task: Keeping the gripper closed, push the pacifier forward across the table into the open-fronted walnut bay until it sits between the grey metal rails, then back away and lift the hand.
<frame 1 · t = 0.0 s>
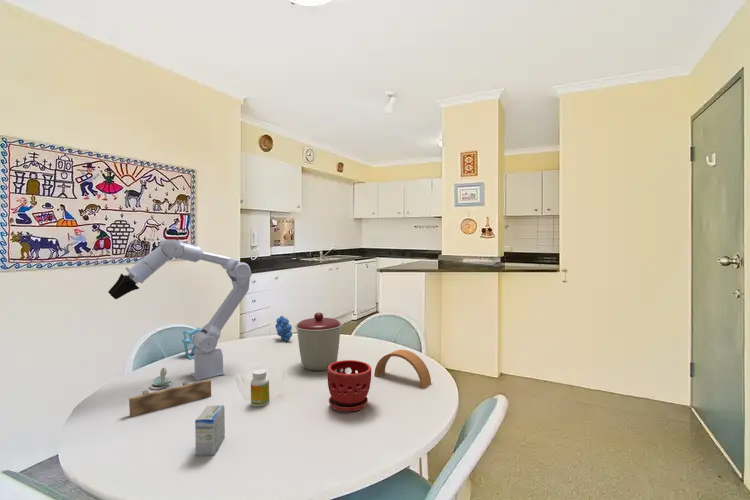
hand: (111, 295, 124), 32 cm above the table, tool tilted 50°, fingers open, 7 cm apart
arch: (401, 380, 136), on the table
walnut bay: (168, 399, 121), on the table
plant pot: (349, 406, 116), on the table
pacifier: (159, 387, 132), on the table
grapes: (282, 341, 187), on the table
canister: (319, 366, 151), on the table
medicine box: (211, 447, 94), on the table
chair: (193, 356, 166), on the table
supplement bottle: (260, 403, 118), on the table
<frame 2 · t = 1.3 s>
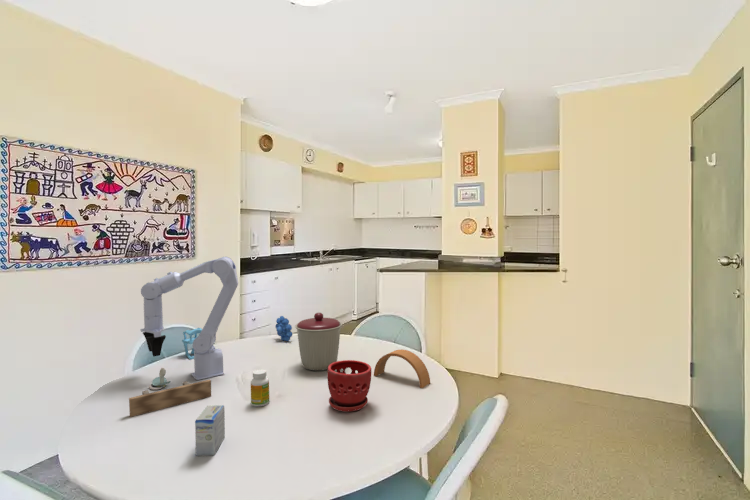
hand: (154, 353, 138), 9 cm above the table, tool pointing down, fingers open, 7 cm apart
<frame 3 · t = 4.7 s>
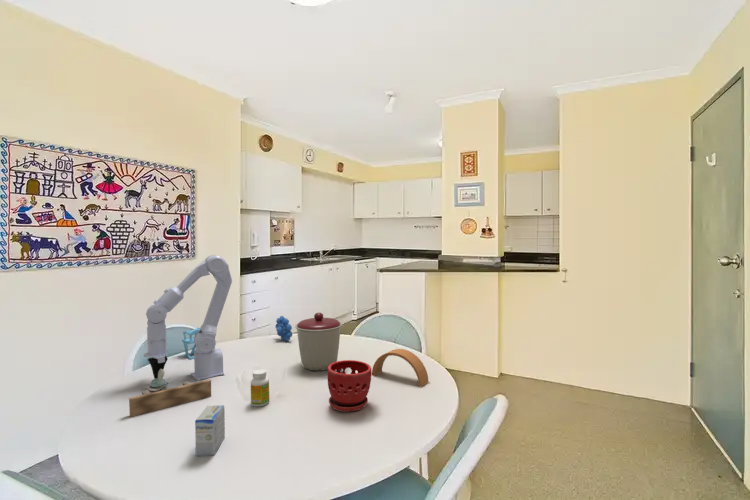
hand: (158, 378, 135), 2 cm above the table, tool pointing down, fingers closed
pacifier: (157, 388, 130), on the table, touching gripper
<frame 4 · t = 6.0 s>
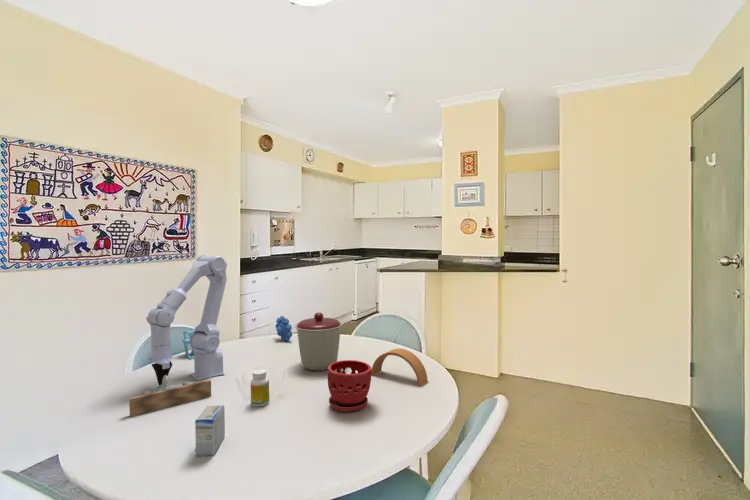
hand: (162, 384, 129), 2 cm above the table, tool pointing down, fingers closed
pacifier: (161, 396, 125), on the table, touching gripper
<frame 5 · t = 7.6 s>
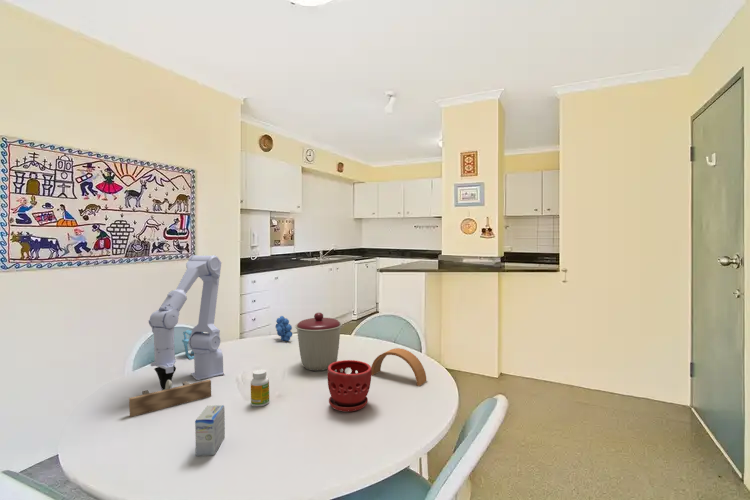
hand: (165, 389, 125), 2 cm above the table, tool pointing down, fingers closed
pacifier: (164, 401, 121), on the table, touching gripper
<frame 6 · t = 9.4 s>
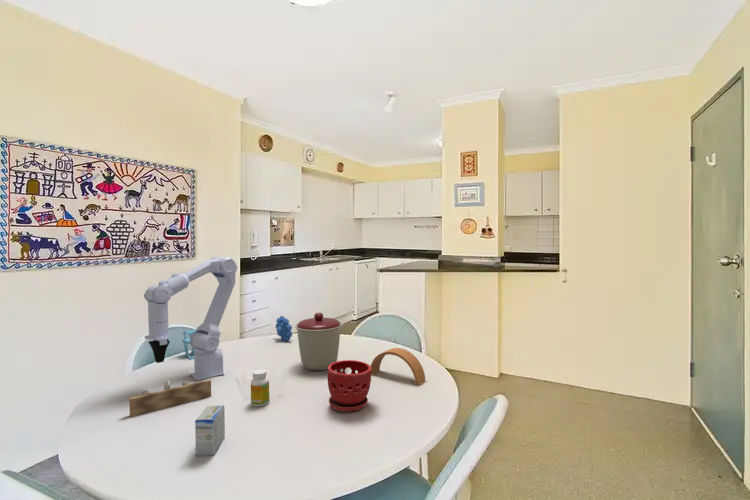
hand: (159, 361, 129), 9 cm above the table, tool pointing down, fingers closed
pacifier: (163, 402, 120), on the table
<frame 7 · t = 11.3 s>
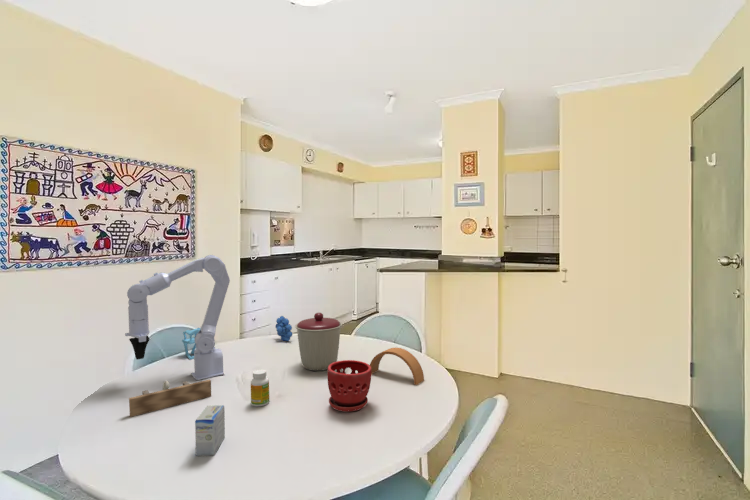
hand: (139, 358, 133), 9 cm above the table, tool pointing down, fingers closed
at the end: pacifier inside the target area on the walnut bay (2.1 cm from its centre), point 0.0 cm above the walnut bay's base; pacifier moved 14.2 cm from its start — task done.
